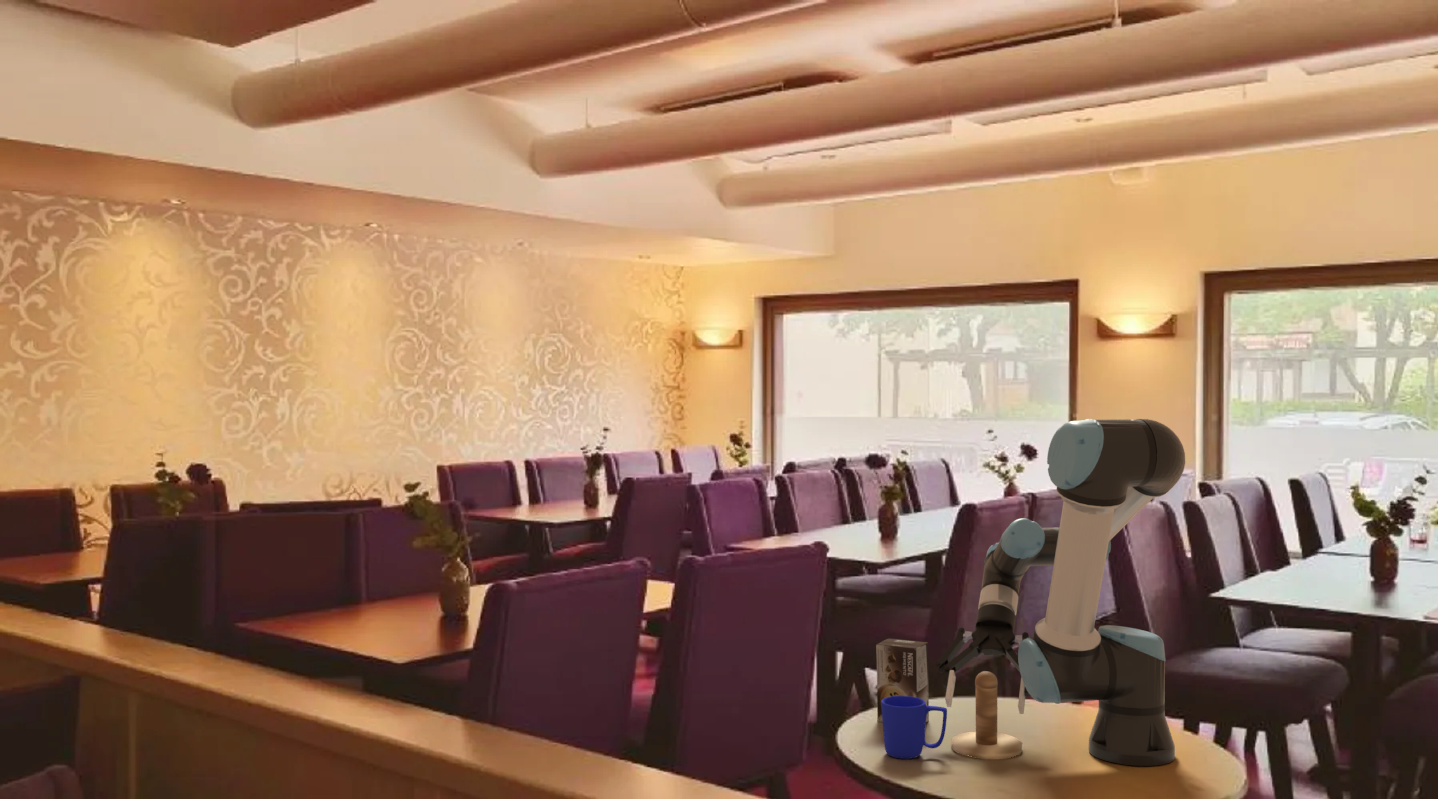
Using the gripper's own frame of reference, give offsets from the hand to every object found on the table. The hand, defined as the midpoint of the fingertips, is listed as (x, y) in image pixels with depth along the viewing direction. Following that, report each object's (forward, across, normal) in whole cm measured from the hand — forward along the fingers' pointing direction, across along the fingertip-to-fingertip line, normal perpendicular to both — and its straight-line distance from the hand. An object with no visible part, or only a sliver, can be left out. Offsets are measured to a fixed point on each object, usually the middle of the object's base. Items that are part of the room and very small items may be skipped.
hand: (984, 706), depth 232 cm
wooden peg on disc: (+6, 0, -5) cm, 8 cm away
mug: (+12, +11, +1) cm, 17 cm away
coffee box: (-3, +18, -14) cm, 24 cm away
